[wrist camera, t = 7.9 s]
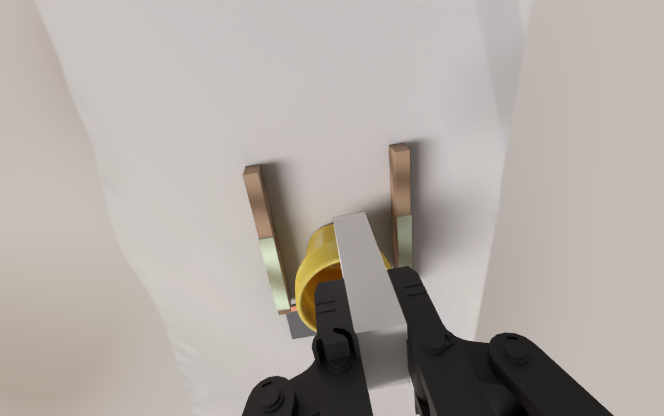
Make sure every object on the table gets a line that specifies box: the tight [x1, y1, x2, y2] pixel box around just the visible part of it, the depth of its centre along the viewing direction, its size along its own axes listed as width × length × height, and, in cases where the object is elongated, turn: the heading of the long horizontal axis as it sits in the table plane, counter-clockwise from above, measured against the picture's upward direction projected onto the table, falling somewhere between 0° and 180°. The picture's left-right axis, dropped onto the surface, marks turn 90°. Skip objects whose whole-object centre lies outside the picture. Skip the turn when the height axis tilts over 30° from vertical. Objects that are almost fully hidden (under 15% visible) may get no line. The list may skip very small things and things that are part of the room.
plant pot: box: [295, 224, 392, 332], centre depth 37 cm, size 10×10×10 cm
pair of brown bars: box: [243, 143, 412, 315], centre depth 39 cm, size 19×17×3 cm
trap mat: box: [286, 304, 317, 339], centre depth 46 cm, size 6×16×1 cm, turn 97°
